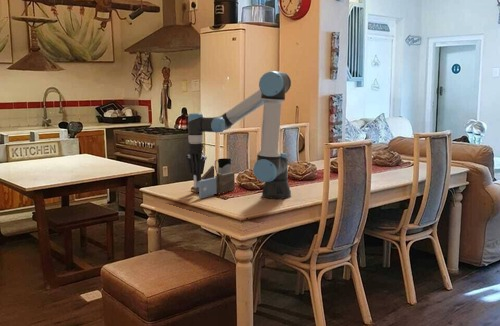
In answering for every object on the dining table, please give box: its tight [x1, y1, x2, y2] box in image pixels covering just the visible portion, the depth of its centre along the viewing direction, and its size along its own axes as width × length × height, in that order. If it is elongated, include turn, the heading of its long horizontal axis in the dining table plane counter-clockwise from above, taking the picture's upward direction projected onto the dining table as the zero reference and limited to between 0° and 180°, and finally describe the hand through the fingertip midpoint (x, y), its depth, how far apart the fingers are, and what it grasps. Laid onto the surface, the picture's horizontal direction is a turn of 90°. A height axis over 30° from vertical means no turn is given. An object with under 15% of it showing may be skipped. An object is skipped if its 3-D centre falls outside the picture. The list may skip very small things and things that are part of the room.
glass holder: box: [214, 158, 232, 175], centre depth 311 cm, size 9×14×15 cm, turn 39°
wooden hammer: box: [193, 165, 215, 194], centre depth 287 cm, size 4×11×18 cm, turn 111°
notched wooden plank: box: [214, 171, 236, 194], centre depth 286 cm, size 2×15×11 cm, turn 144°
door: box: [198, 177, 218, 199], centre depth 275 cm, size 3×12×9 cm, turn 144°
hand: (196, 187), depth 277 cm, fingers closed
